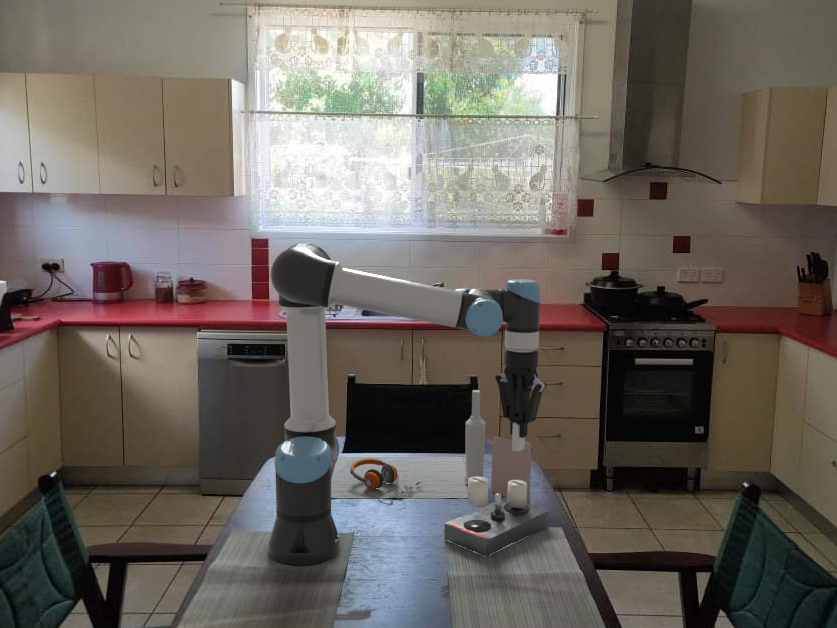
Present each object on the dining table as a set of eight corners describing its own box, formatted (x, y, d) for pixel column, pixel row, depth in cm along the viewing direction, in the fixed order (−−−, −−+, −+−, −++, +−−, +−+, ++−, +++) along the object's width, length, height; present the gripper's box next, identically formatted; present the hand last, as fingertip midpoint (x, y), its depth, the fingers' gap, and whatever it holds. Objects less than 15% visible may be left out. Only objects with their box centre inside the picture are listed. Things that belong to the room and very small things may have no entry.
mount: (444, 540, 180) (444, 522, 179) (506, 512, 195) (507, 495, 195) (486, 558, 172) (486, 539, 171) (547, 527, 187) (548, 510, 186)
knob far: (503, 503, 188) (503, 482, 187) (515, 498, 191) (515, 478, 190) (518, 509, 184) (519, 487, 184) (530, 504, 188) (530, 482, 187)
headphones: (389, 497, 197) (336, 460, 209) (386, 516, 199) (333, 478, 211) (435, 480, 209) (382, 446, 221) (431, 497, 211) (378, 463, 223)
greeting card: (532, 502, 201) (534, 444, 199) (505, 505, 199) (506, 447, 197) (514, 486, 212) (516, 430, 210) (488, 488, 210) (489, 433, 208)
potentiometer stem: (487, 517, 183) (487, 494, 182) (496, 513, 185) (497, 490, 184) (498, 521, 181) (499, 498, 180) (507, 517, 183) (508, 494, 182)
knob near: (463, 501, 177) (464, 479, 176) (476, 496, 180) (477, 474, 179) (479, 507, 174) (479, 485, 173) (492, 502, 177) (492, 479, 176)
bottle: (461, 480, 216) (463, 389, 212) (479, 478, 217) (481, 388, 213) (468, 487, 211) (470, 394, 207) (487, 485, 212) (489, 392, 208)
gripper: (555, 350, 180) (551, 452, 184) (509, 342, 189) (505, 439, 193) (535, 355, 174) (531, 460, 178) (488, 346, 183) (485, 446, 187)
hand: (518, 449), depth 185 cm, fingers closed
